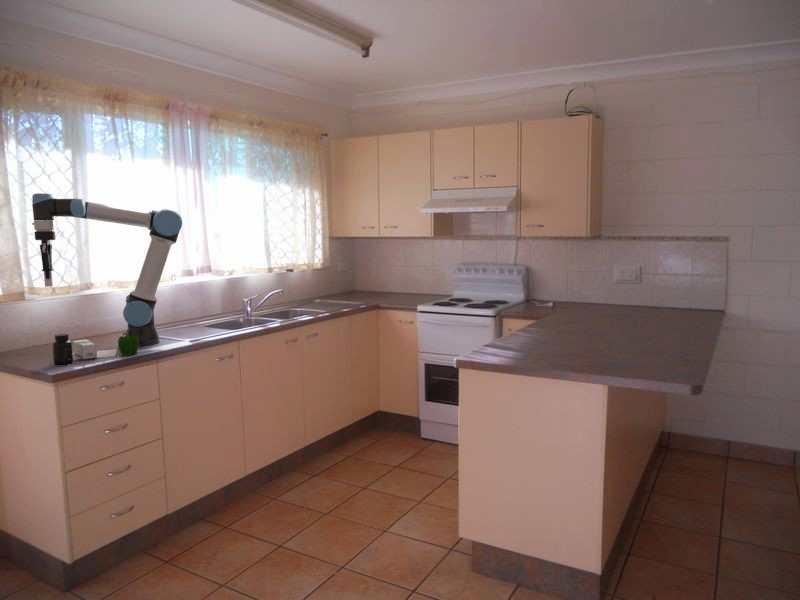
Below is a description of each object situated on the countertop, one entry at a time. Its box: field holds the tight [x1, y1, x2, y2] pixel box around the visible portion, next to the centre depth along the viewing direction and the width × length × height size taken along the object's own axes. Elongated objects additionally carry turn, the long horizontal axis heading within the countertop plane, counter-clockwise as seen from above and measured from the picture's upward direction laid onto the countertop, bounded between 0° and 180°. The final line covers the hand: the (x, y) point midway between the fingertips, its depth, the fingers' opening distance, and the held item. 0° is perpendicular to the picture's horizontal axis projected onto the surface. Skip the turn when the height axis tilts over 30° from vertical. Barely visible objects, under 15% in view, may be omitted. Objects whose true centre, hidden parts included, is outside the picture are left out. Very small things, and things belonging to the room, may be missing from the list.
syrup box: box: [72, 339, 98, 360], centre depth 254 cm, size 6×6×14 cm
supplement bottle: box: [52, 333, 74, 366], centre depth 241 cm, size 7×7×12 cm
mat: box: [73, 349, 118, 361], centre depth 258 cm, size 18×15×1 cm
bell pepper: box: [117, 331, 140, 357], centre depth 258 cm, size 8×8×10 cm
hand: (48, 286), depth 257 cm, fingers closed
